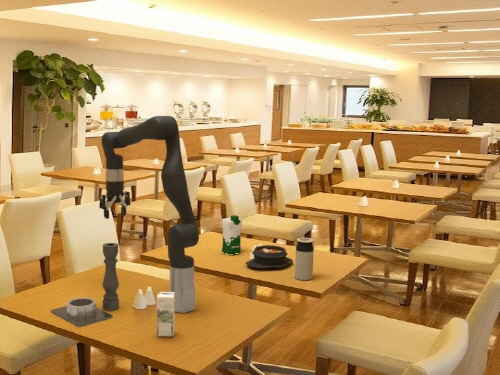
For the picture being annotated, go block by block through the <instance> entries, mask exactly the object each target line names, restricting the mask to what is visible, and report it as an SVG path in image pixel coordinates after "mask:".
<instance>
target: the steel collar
mask: <svg viewBox="0 0 500 375" xmlns="http://www.w3.org/2000/svg"><path fill="white" fill-rule="evenodd" d="M50 313H52V314H54V315H56V316H58V317H59V318H61V319H63V320H65V321H67V322H68V321H69V322H68V323H70V322H71V324H72V325H74V326H76V327H77V328H81V327H83V326H84V327H85V326H89V325H91V324H96V323H99V322H102V321H105V320H106V321H107V320H110V319H113V318H114V315H113V314H111V313H109V312H106V311H105V310H103V309H100V308H98V307H97V300H96V299H94V298H91V297H77V298H76V297H75V298H72V299H69V300H67V301H66V306H60V307H57V308H54V309H50Z"/></svg>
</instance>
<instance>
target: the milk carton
mask: <svg viewBox="0 0 500 375" xmlns="http://www.w3.org/2000/svg"><path fill="white" fill-rule="evenodd" d="M239 217H240V216H239V215H230V217H227V218H226V217H225V218H221V222H222V223H221V224H222V249H221V253H222V252H224V253H227V254H230V255H231V254H235V253H240V252H241V253H242V250H241V249H242V246H241V237H242V236H241V234H242V224H243V219H240V218H239Z"/></svg>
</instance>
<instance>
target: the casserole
mask: <svg viewBox="0 0 500 375" xmlns="http://www.w3.org/2000/svg"><path fill="white" fill-rule="evenodd" d="M251 253H252V255H253V258H252V259H250V260H247V261H246V262H245V265H246V266H249V267H251V268H256V269H268V268H274V269H279V268H283V267H286V266H288V265H289V264H291V263H293V262H294V260H293V259H292V258H290V257H287V256H288V252H287V251H286V248H284V247H283V246H278V245H271V244H270V245H269V244H268V245H267V244H266V245H258V246H256V247H254V250H253V251H252V252H251Z"/></svg>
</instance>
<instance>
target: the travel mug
mask: <svg viewBox="0 0 500 375" xmlns="http://www.w3.org/2000/svg"><path fill="white" fill-rule="evenodd" d="M296 241H297V244H296V245H295V266H294V278H295V279H296V280H298V279H299V281H310V280H312V279H313V273H314V272H313V271H314V255H315V254H314V249H315V248H314V244H313V242H314V241H315V240H314V239H313V238H310V237H299V238H298V237H297V239H296Z"/></svg>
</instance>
